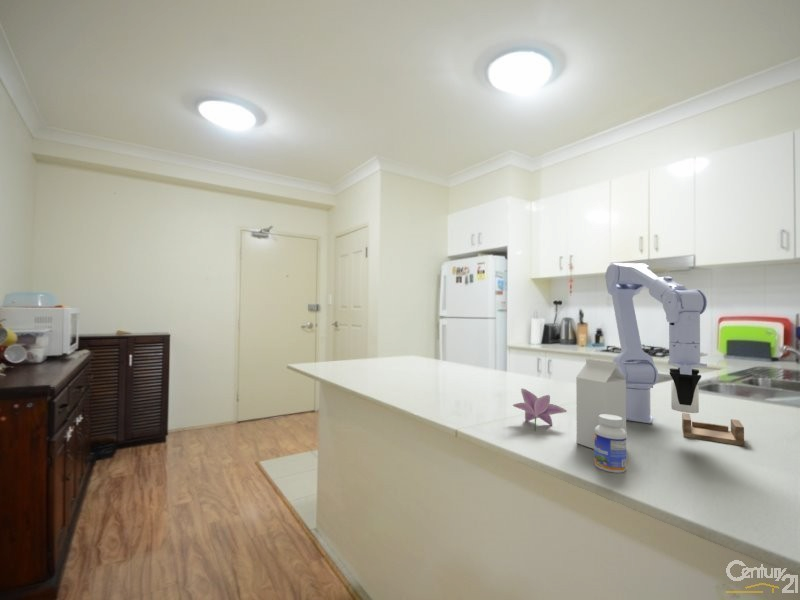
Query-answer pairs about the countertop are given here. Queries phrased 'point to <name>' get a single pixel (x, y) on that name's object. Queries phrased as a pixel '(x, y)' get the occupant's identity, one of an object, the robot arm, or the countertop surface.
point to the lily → (538, 407)
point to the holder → (713, 431)
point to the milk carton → (598, 397)
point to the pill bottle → (610, 444)
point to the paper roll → (684, 408)
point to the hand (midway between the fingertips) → (684, 402)
